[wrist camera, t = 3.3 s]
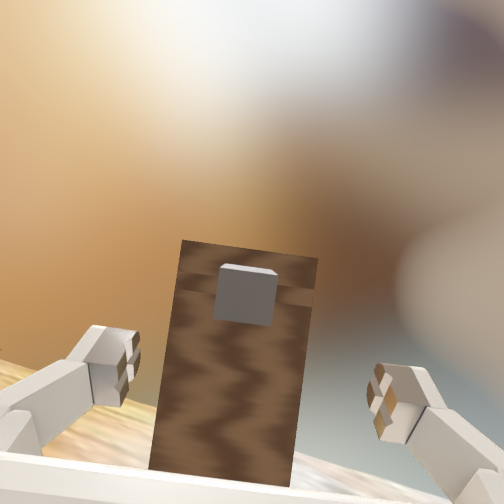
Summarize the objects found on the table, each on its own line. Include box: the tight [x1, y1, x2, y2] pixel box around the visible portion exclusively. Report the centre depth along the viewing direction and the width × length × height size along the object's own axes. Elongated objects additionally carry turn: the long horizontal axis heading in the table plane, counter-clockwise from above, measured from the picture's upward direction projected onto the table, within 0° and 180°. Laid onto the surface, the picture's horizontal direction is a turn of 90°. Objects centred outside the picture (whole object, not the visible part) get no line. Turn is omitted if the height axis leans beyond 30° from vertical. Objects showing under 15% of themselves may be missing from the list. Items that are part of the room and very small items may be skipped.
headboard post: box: [148, 240, 318, 487], centre depth 38 cm, size 14×10×31 cm
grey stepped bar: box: [213, 263, 278, 326], centre depth 30 cm, size 16×4×4 cm, turn 1°
